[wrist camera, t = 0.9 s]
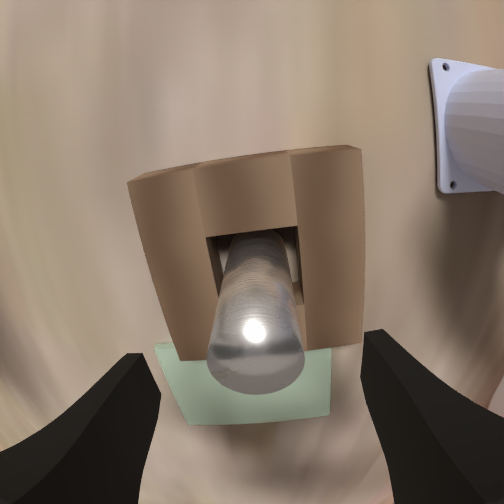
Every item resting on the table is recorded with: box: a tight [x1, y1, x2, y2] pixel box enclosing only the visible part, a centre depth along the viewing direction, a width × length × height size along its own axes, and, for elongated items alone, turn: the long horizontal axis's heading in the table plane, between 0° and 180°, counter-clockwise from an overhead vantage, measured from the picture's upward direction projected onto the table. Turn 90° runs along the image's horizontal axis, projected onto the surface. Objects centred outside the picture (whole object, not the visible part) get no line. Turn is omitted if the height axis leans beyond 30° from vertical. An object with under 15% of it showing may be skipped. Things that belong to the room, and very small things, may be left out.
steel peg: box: [206, 229, 305, 395], centre depth 14 cm, size 3×3×9 cm
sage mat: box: [154, 343, 331, 425], centre depth 22 cm, size 12×9×1 cm
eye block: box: [127, 145, 365, 361], centre depth 17 cm, size 11×11×2 cm
